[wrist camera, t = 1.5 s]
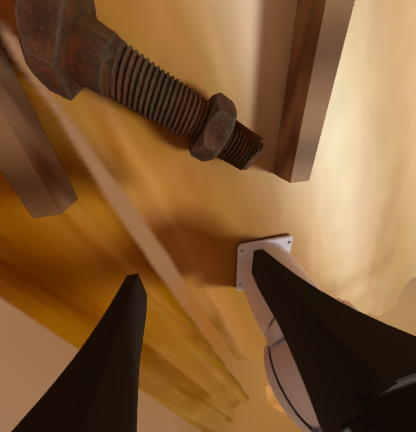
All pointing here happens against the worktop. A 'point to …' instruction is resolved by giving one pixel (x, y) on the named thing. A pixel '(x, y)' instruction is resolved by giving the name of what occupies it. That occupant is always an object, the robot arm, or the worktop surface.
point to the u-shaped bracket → (289, 132)
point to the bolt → (126, 78)
